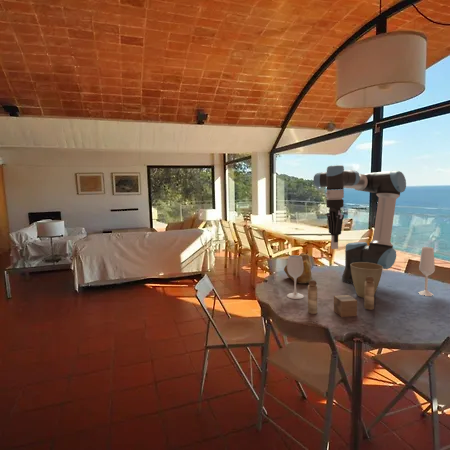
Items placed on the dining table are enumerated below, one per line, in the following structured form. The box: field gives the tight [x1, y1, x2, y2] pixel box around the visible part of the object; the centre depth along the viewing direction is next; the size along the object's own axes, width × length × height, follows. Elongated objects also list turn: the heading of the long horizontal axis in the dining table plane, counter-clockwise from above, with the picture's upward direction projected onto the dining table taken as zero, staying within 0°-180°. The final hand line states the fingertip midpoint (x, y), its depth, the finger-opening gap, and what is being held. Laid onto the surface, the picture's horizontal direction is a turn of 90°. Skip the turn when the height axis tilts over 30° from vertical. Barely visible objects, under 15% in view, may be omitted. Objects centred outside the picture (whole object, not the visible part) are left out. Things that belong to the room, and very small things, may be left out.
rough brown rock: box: [283, 253, 313, 284], centre depth 184 cm, size 23×17×15 cm
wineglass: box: [286, 255, 305, 300], centre depth 154 cm, size 9×9×21 cm
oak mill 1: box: [307, 279, 318, 315], centre depth 133 cm, size 4×4×15 cm
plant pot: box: [350, 262, 384, 299], centre depth 152 cm, size 15×15×16 cm
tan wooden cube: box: [333, 294, 358, 318], centre depth 132 cm, size 7×7×7 cm
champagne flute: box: [417, 246, 436, 297], centre depth 152 cm, size 7×7×24 cm
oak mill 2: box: [363, 276, 375, 311], centre depth 136 cm, size 4×4×15 cm
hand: (334, 248), depth 142 cm, fingers closed
